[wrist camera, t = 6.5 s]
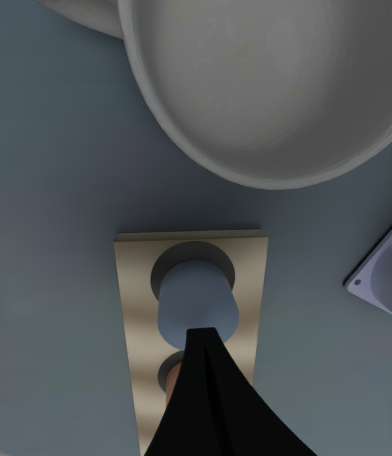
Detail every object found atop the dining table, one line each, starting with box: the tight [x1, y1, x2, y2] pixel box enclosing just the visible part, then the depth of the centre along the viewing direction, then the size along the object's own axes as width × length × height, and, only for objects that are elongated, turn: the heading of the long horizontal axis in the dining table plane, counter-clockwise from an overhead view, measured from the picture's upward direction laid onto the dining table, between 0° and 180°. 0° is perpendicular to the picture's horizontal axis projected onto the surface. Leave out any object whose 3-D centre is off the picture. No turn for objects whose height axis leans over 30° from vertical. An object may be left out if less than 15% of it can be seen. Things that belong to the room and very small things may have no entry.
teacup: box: [35, 0, 392, 190], centre depth 10 cm, size 14×11×8 cm
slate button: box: [157, 260, 239, 351], centre depth 14 cm, size 4×4×3 cm
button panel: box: [114, 229, 269, 456], centre depth 21 cm, size 24×10×2 cm, turn 179°
